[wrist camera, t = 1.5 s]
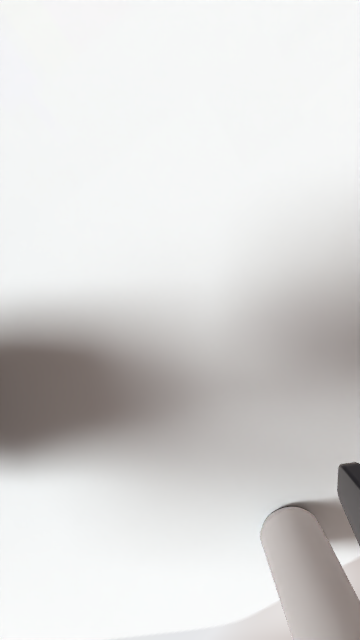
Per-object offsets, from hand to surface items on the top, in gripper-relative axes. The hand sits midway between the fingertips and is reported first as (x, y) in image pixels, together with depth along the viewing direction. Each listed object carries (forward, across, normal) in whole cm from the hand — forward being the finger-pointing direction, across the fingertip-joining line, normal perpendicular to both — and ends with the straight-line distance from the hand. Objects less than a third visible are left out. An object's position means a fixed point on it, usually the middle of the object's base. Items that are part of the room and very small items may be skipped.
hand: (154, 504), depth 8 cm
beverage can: (+14, -8, +20) cm, 25 cm away
